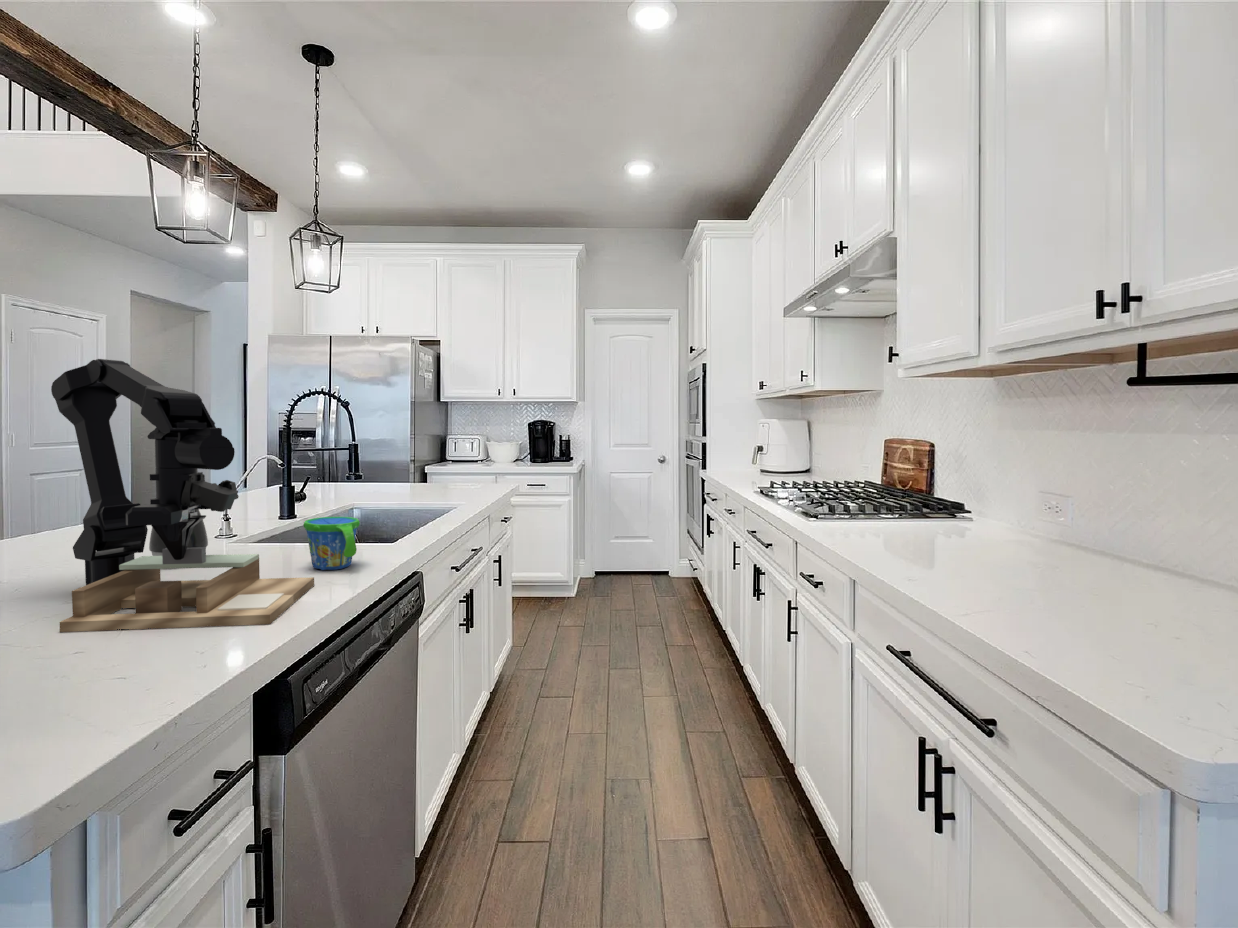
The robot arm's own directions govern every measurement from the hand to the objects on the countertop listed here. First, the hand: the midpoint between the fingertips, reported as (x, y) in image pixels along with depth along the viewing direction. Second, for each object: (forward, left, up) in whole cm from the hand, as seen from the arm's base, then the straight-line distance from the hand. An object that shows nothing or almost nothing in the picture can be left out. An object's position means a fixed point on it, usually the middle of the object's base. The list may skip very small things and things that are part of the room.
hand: (178, 559), depth 104 cm
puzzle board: (+4, -2, -7) cm, 9 cm away
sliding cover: (0, +5, -2) cm, 5 cm away
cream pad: (+14, -6, -6) cm, 16 cm away
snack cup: (+18, +25, -8) cm, 31 cm away
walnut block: (0, -6, -8) cm, 10 cm away
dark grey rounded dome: (-14, +31, -8) cm, 35 cm away
